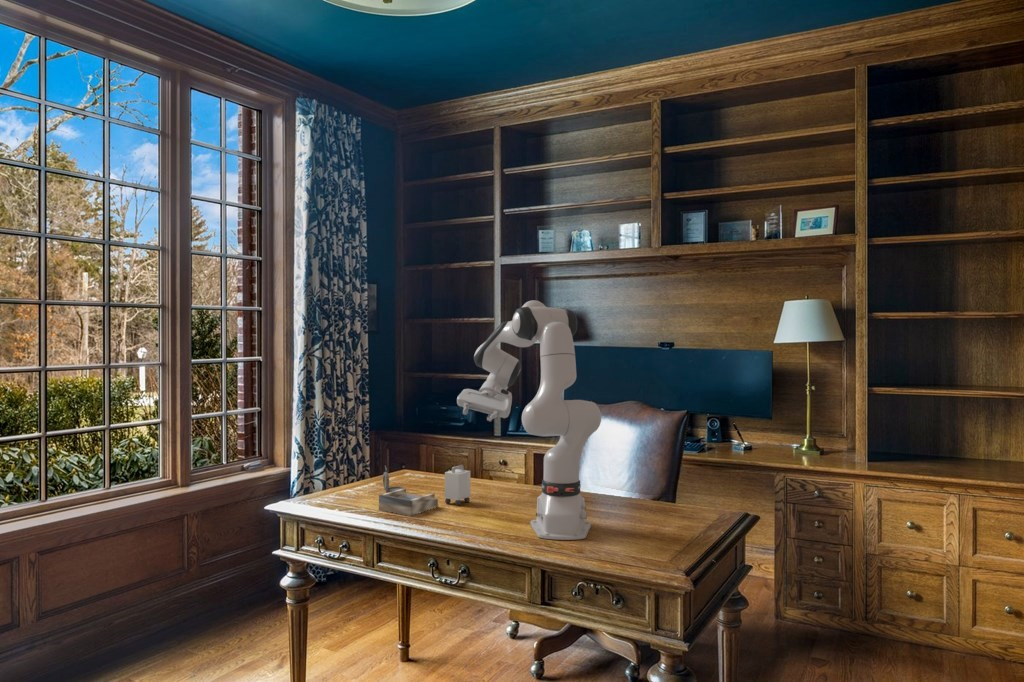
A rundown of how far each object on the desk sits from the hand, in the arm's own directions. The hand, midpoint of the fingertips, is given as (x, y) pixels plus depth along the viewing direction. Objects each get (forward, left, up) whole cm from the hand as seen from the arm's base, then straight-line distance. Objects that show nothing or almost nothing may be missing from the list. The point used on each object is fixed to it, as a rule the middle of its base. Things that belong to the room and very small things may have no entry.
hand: (476, 416), depth 247 cm
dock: (-17, +21, -29) cm, 40 cm away
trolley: (-8, +6, -30) cm, 31 cm away
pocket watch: (+7, +32, -30) cm, 44 cm away
